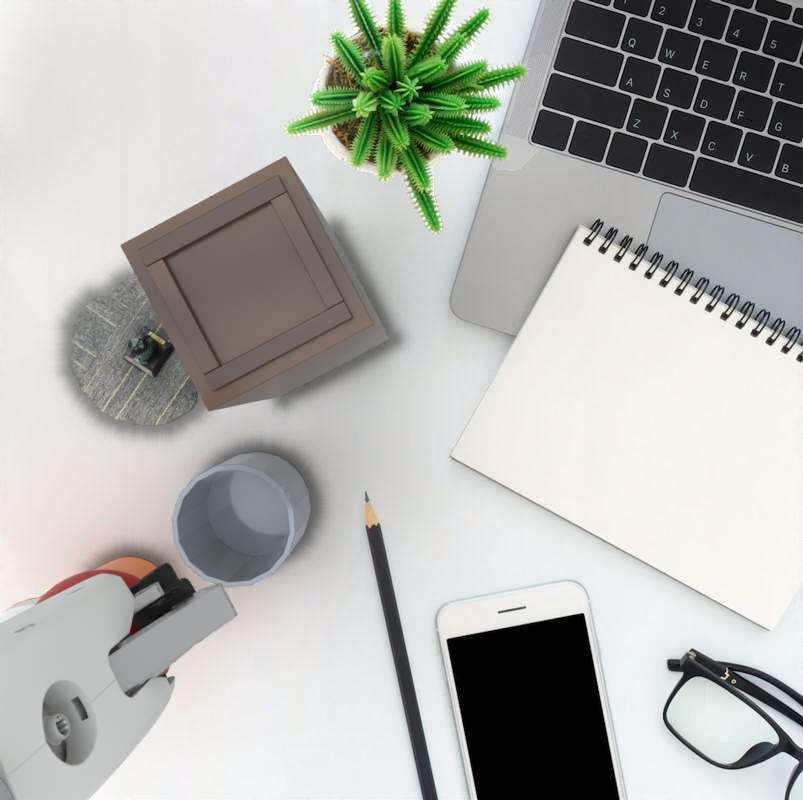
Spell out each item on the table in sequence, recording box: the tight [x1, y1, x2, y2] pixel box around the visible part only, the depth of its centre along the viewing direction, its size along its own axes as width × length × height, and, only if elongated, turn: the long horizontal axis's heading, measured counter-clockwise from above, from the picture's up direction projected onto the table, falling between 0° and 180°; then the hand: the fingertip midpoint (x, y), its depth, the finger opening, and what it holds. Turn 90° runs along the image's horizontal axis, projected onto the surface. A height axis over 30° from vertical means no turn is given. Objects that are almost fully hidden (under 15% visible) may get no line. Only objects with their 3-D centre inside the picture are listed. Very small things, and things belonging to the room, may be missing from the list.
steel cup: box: [171, 451, 312, 588], centre depth 65 cm, size 9×9×9 cm
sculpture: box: [70, 277, 198, 426], centre depth 69 cm, size 12×9×8 cm
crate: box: [119, 155, 390, 412], centre depth 56 cm, size 10×10×24 cm
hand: (110, 634), depth 35 cm, fingers closed on apple, 6 cm apart
